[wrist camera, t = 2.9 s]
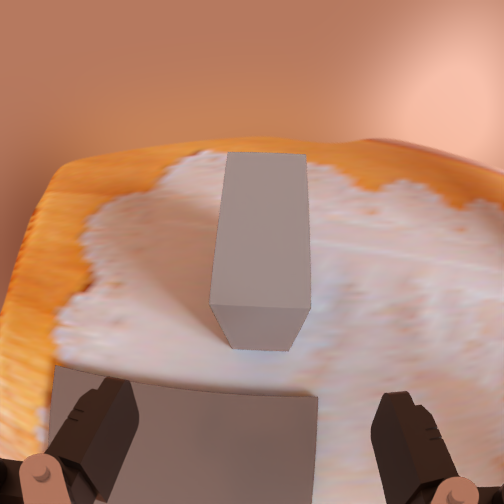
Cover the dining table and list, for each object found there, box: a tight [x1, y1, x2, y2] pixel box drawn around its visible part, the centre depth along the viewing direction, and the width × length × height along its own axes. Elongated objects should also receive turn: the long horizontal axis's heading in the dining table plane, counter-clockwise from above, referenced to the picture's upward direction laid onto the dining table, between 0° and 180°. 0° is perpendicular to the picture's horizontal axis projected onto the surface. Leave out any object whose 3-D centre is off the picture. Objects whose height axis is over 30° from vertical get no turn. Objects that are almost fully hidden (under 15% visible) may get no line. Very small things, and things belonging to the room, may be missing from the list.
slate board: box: [48, 365, 318, 504], centre depth 18 cm, size 20×12×1 cm, turn 87°
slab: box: [209, 152, 311, 351], centre depth 19 cm, size 8×4×11 cm, turn 177°
